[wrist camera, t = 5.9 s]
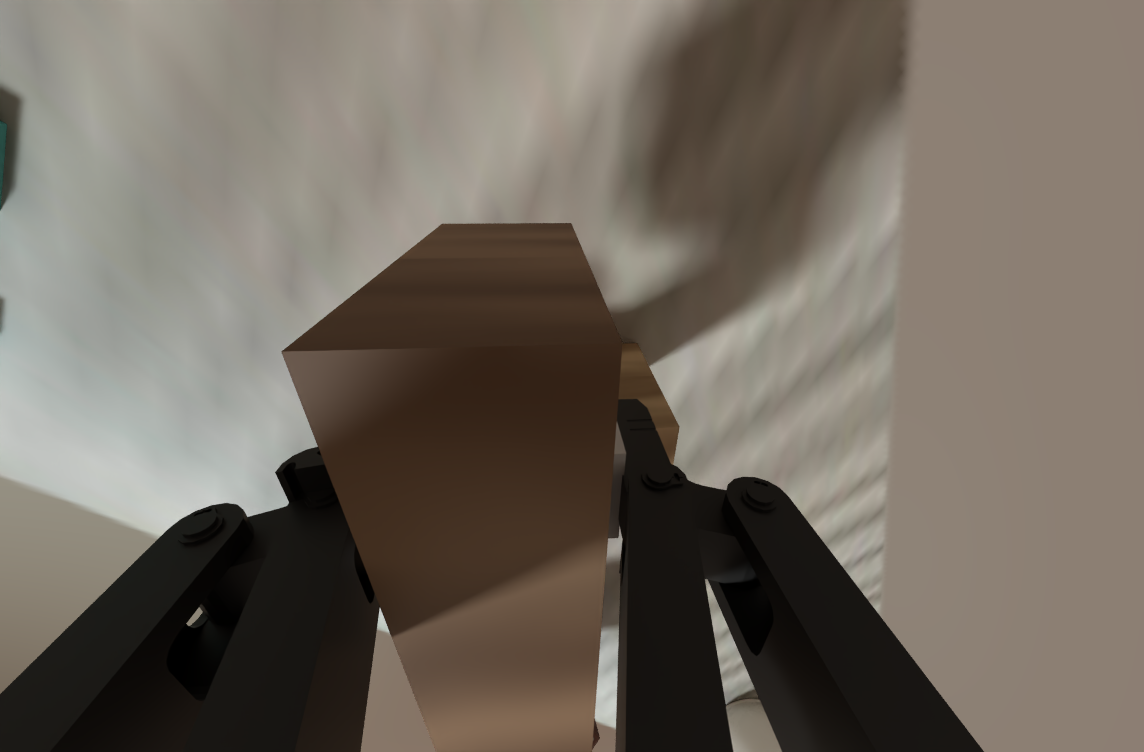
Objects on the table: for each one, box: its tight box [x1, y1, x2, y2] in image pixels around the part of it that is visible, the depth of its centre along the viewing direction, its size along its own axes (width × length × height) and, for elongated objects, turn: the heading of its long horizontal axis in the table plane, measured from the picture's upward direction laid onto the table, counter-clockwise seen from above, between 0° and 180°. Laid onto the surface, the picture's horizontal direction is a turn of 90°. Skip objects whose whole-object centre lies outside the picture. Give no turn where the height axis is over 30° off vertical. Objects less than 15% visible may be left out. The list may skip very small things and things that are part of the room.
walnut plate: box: [282, 223, 623, 752], centre depth 12 cm, size 14×4×9 cm, turn 0°
